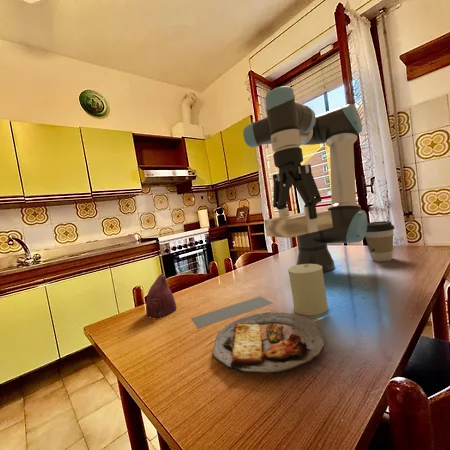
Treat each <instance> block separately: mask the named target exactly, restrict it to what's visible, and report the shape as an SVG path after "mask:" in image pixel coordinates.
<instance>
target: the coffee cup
mask: <svg viewBox="0 0 450 450" xmlns="http://www.w3.org/2000/svg"><path fill="white" fill-rule="evenodd" d="M394 229H395V225H394V224H392V221H387V220H386V221H385V220H384V221H383V220H381V221H371V222H367V231H366V235H365V240H366V242H367V247H368V250H369V254H370V258H371V260H372V261H374V262H388V261H392V260H393V256H394V255H393V254H394V253H393V251H394V250H393V249H394Z"/></svg>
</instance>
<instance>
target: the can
mask: <svg viewBox="0 0 450 450" xmlns="http://www.w3.org/2000/svg"><path fill="white" fill-rule="evenodd" d="M287 272H288V275H289V281H290V283H289V284H290V289H291V296H292V301H293V302H292V303H293V310H294V312H296V313H298V314H299V315H300V314H301V315H306V316H309V315H311V316H315V315H320V314H323V313H325V312H326V311H328V309H329V305H328V301H327V300H328V299H327V293H326V287H325V278H324V272H323V270H322V266H321V265H318V264H300V265H296V264H295V265H293V266H290V267H289V268H288V269H287Z"/></svg>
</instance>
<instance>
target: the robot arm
mask: <svg viewBox="0 0 450 450" xmlns="http://www.w3.org/2000/svg"><path fill="white" fill-rule="evenodd" d="M264 101H265V111H266V117H264V118H261V119H258V120H257V121H253V122H251V123H250V124H248V125H246V126H245V127H244V128H243V132H242V136H243V140H244V143H245V144H246V145H247V147H249V148H257V147H260V146H262V145H271V149H272V152H274V153H273V156H272V157H273V164H274V167H276V168H278V173H275V174H272V180H273V190H272V191H273V195H272V196H273V201H272V204H273V205H272V206H273V208H276V209H277V210H278V215H279V217H283V216H288V215H290V211H289V210H290V209H289V206H288V204H287V203H288V199H289V195H290V190H291V189H290V188H292V186H293V187H295V188H296V190H297V191H296V192H298V194H299V196H300V197H301V200H302V202H303V203H304V205H303V211H304V212H305V219H306V225H307V232H308V234H304V235H299V236H295V237H296V243H297V250H298V253H297V261H296V264H295V266H296V265H300V264H318V265H321V266H322V270H323V273H325V272H329V271H333V269H335V267H336V266H335V260H334V259H333V257H332V255H331V253H330V251H329V247H328V244H352V243H353V244H354V243H360V242H362V241H363V240H364V238H366V236H365V235H366V231H367V223H368V215H367V213H366V211H365V210H363V209H362V207H361V205H360V204H358V203H357V196H356V195H357V193H356V175H355V174H356V173H355V154H354V153H355V151H354V144H355V143H356V141H357V140H358V135H359V134H360V133H362V131H363V124H362V120H361V116H360V114H359V112H358V109H357V108H356V106H355V105H354V104H352V103H348V104H346V105H341V106H339V107H337V108H334V109H331V110H329V111H326V112H324V113H323V112H322V113H321V114H320V113H319V114H318V115H316V113H315V111H314V110H313V109H312V108H311V107H309V106H308V105H305V104H302V103H299V102H297V101H296V96H295V93H294V89H293V88H292V87H291V86H288V85H287V86H286V85H285V86H284V85H283V86H278V87H275V88H273V89H271V90H270V91H268V92H267V93H266V95H265V98H264ZM321 144H325V145H326V147H329V162H330V163H329V165H330V166H329V167H330V192H331V196H330V197H331V205H329V206H328V207H327V211H331V216H332V224H333V228H329V229H325V230H320V231H318V227H317V220H316V218H317V212H316V211H317V205H318V204H319V203H322V197H321V194H320V191H319V189H318V186H317V183H316V181H315V179H314V175H313V173H312V166H311V164H302V162H303V161H304V156H303V149H302V148H301V146H310V145H311V146H312V145H315V146H316V145H321Z"/></svg>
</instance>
